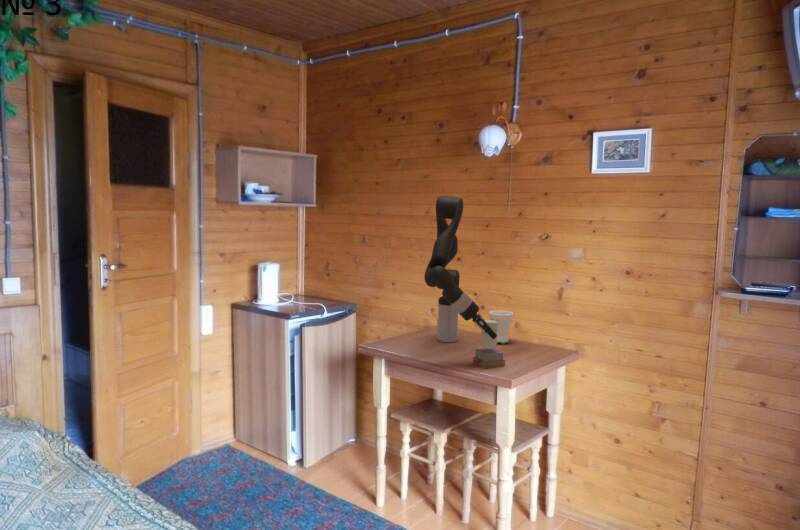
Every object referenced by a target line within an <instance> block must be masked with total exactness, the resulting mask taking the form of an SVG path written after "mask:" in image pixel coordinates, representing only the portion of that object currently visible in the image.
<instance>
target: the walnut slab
mask: <svg viewBox="0 0 800 530" xmlns="http://www.w3.org/2000/svg"><path fill="white" fill-rule="evenodd" d="M472 364H474V365H475V366H478V365H479V367H481V368H484V369H486V370H489V369H496V368H502V367H505V366H506V359H504V358H503V360H500V361H489V362H484V361H482V360H481V359H479V358H477V357H475V356H473V357H472Z"/></svg>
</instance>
